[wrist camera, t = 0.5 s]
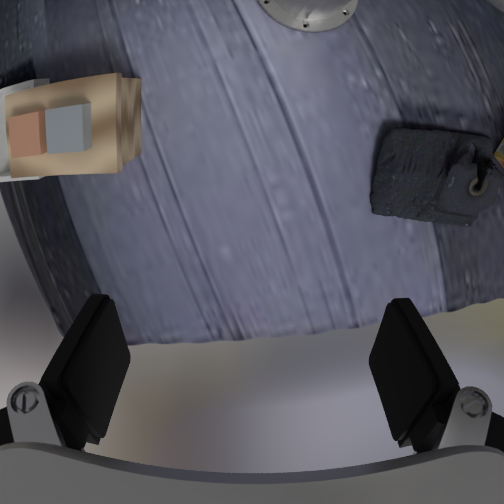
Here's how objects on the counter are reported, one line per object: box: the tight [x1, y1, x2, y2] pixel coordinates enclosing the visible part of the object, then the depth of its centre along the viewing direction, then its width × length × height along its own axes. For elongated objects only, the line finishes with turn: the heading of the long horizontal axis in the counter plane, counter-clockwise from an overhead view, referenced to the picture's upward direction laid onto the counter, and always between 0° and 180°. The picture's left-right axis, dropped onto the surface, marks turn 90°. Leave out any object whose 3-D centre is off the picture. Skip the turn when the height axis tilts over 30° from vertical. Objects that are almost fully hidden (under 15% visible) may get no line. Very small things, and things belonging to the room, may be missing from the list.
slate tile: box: [45, 103, 92, 154], centre depth 27 cm, size 5×5×2 cm
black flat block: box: [370, 127, 504, 227], centre depth 37 cm, size 15×22×5 cm
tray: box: [0, 78, 50, 182], centre depth 33 cm, size 14×10×4 cm
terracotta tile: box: [8, 109, 48, 158], centre depth 27 cm, size 5×5×2 cm
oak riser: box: [5, 73, 141, 178], centre depth 32 cm, size 11×16×8 cm, turn 86°
